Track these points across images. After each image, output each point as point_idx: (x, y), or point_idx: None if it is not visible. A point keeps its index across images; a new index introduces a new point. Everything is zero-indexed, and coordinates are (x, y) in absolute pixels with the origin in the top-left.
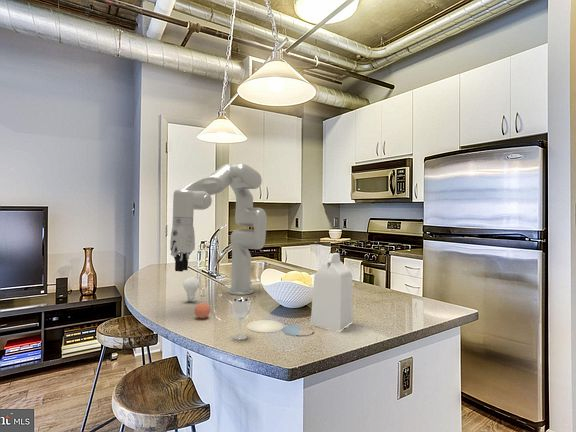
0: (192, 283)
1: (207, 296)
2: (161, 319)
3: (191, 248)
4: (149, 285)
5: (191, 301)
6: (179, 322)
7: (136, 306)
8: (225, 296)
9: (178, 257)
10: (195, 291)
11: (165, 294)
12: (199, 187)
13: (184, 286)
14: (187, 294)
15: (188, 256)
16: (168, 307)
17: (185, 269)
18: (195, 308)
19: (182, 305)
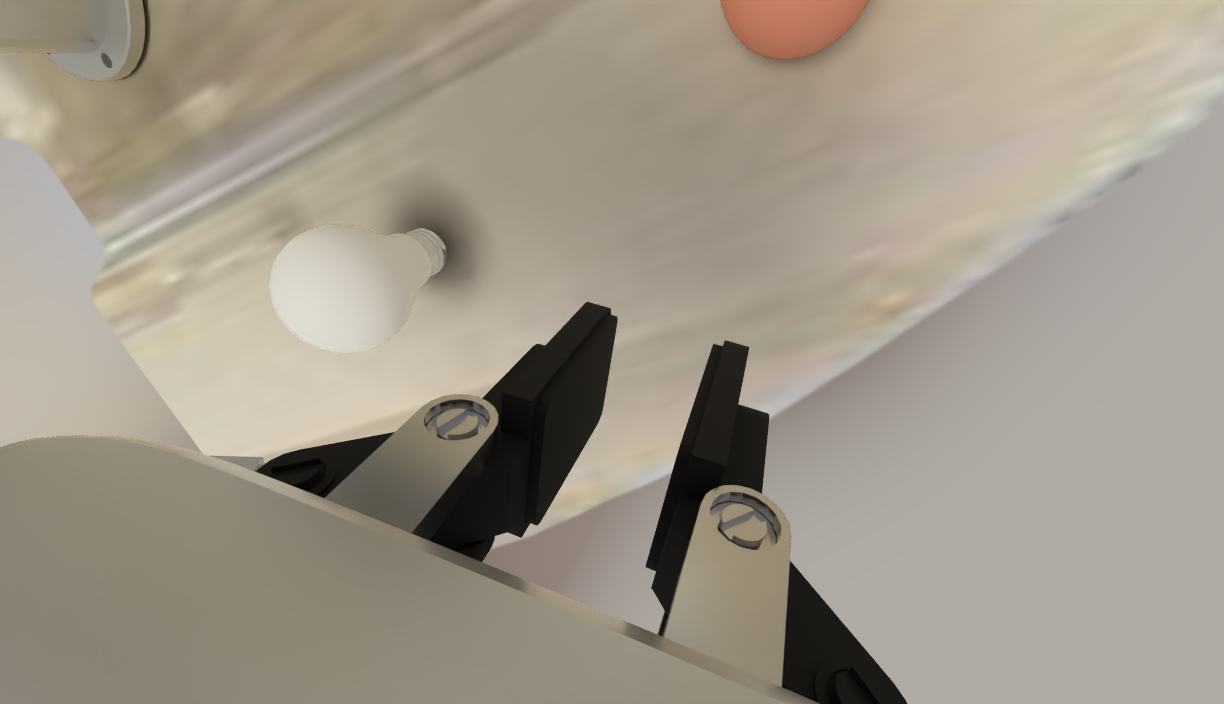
0: (364, 273)
1: (281, 185)
2: (849, 300)
3: (158, 580)
4: None
5: (440, 240)
6: (931, 141)
7: (607, 495)
8: (212, 48)
9: (825, 640)
10: (381, 235)
11: (368, 426)
12: None
13: (400, 327)
14: (420, 284)
15: (415, 439)
16: None
17: (612, 332)
18: (827, 38)
19: (515, 274)
